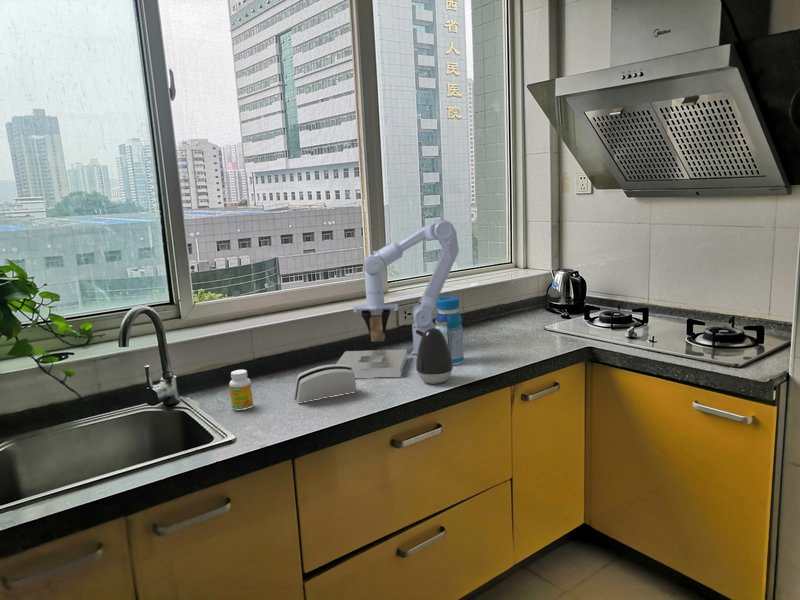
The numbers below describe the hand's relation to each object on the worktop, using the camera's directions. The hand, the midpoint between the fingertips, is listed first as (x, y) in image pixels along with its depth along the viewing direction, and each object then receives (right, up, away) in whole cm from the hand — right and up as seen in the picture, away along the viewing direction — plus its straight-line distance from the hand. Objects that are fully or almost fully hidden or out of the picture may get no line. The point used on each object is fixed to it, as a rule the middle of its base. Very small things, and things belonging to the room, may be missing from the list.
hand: (377, 332), depth 198 cm
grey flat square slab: (-1, -10, -14) cm, 18 cm away
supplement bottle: (-33, -17, -42) cm, 57 cm away
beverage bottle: (+23, -9, -13) cm, 28 cm away
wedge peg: (0, -2, 0) cm, 2 cm away
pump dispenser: (+17, -12, -30) cm, 37 cm away
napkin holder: (-12, -15, -38) cm, 43 cm away
